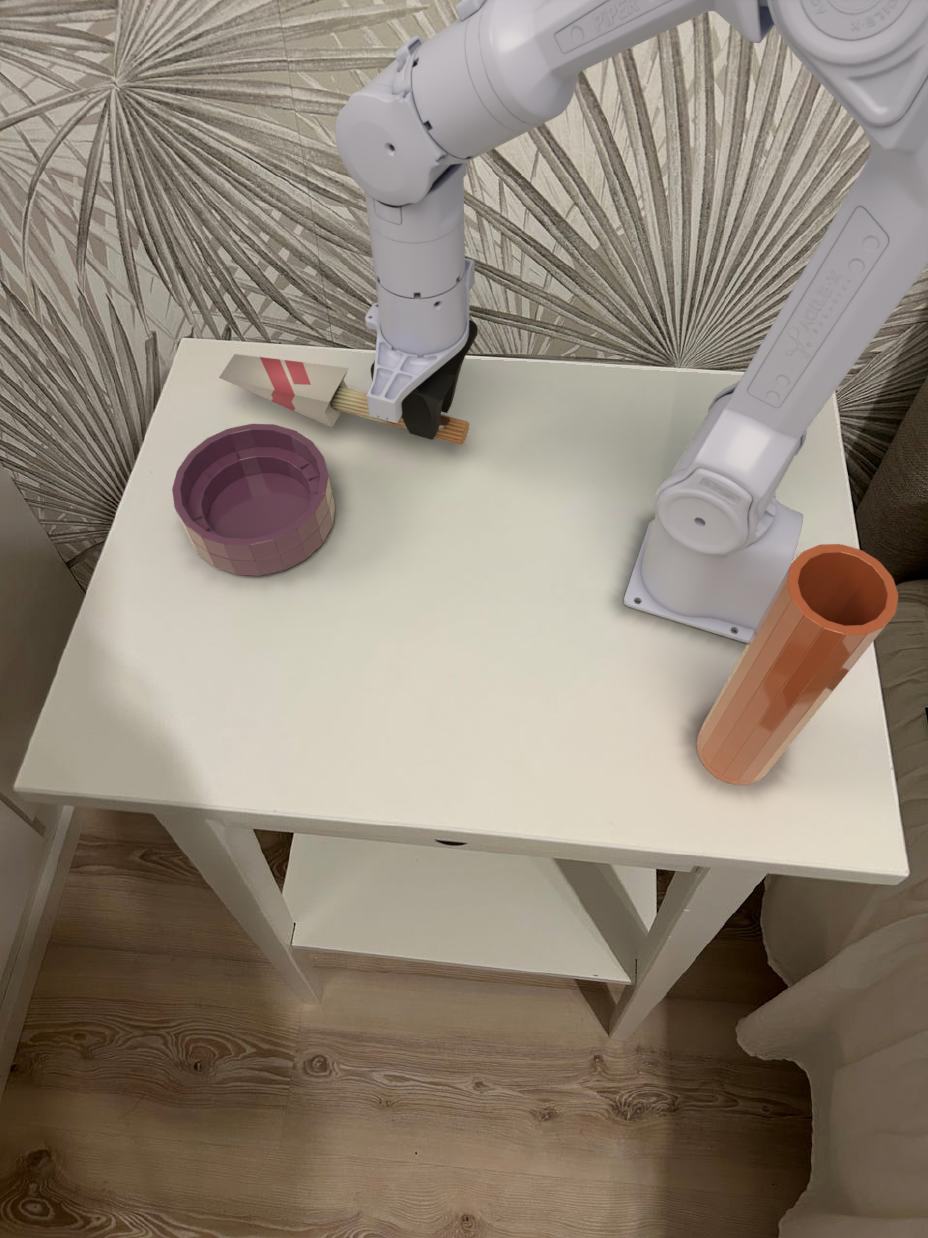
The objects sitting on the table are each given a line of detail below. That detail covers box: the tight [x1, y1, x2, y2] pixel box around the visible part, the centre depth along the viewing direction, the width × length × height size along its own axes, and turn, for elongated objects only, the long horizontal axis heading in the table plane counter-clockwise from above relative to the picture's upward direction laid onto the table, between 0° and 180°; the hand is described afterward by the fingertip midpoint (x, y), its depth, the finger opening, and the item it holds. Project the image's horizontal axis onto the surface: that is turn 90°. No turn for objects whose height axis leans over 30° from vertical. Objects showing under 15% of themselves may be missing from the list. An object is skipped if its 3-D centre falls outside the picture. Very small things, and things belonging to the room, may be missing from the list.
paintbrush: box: [218, 353, 470, 446], centre depth 69 cm, size 4×3×20 cm
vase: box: [696, 543, 899, 786], centre depth 50 cm, size 5×5×20 cm
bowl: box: [171, 423, 336, 576], centre depth 67 cm, size 11×11×4 cm
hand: (429, 419), depth 68 cm, fingers closed on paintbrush, 2 cm apart
